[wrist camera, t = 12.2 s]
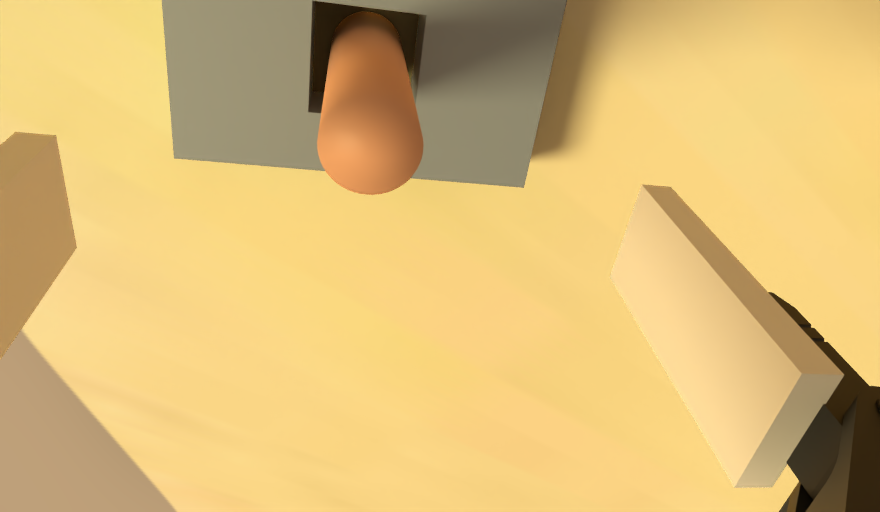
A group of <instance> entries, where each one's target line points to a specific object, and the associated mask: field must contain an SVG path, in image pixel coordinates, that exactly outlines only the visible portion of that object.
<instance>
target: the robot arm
mask: <svg viewBox="0 0 880 512" xmlns="http://www.w3.org/2000/svg"><path fill="white" fill-rule="evenodd" d="M76 248H77V247H76V241H75V236H74V230H73V225H72V220H71V214H70V209H69V203H68V198H67V193H66V187H65V182H64V176H63V171H62V166H61V160H60V155H59V149H58V144H57V139H56V135H44V134H33V133H21V132H15V133H14V134H13V135H11V136H10V137H9V138H8V139H7V140H6V141H5V142H3V143H2V144H1V145H0V360H1V358H2V357H3V355H4V354H5V352H6V351H7V350H8V348H9V346H10V345H11V343H12V342H13V341H14V339H15V338H16V336H17V335H18V333H19V332H20V330H21V329H22V327H23V326H24V325H25V323H26V322H27V320H28V319H29V317H30V316H31V314H32V313H33V311H34V310H35V308H36V307H37V305H38V304H39V302H40V301H41V299H42V298H43V297H44V295H45V294H46V292H47V291H48V289H49V288H50V286H51V285H52V283H53V282H54V280H55V279H56V277H57V276H58V274H59V273H60V271H61V270H62V269H63V267H64V266H65V264H66V263H67V261H68V260H69V258H70V257H71V255H72V254H73V252H74V251H75V249H76ZM610 279H611V280H612V282H613V284H614V286H615V287H616V289H617V291H618V292H619V294H620V296H621V297H622V299H623V301H624V302H625V304H626V306H627V307H628V309H629V311H630V313H631V314H632V316H633V318H634V319H635V321H636V323H637V324H638V326H639V328H640V329H641V331H642V333H643V334H644V336H645V338H646V340H647V341H648V343H649V345H650V346H651V348H652V350H653V351H654V353H655V355H656V356H657V358H658V360H659V361H660V363H661V365H662V367H663V368H664V370H665V372H666V373H667V375H668V377H669V378H670V380H671V382H672V383H673V385H674V387H675V388H676V390H677V392H678V394H679V395H680V397H681V399H682V400H683V402H684V404H685V405H686V407H687V409H688V410H689V412H690V414H691V415H692V417H693V419H694V421H695V422H696V424H697V426H698V427H699V429H700V431H701V432H702V434H703V436H704V437H705V439H706V441H707V442H708V444H709V446H710V448H711V449H712V451H713V453H714V454H715V456H716V458H717V459H718V461H719V463H720V464H721V466H722V468H723V469H724V471H725V473H726V475H727V476H728V478H729V480H730V481H731V483H732V485H733V486H734V488H747V487H773V485H774V484H775V482H776V481H777V479H778V478H779V476H780V475H781V473H782V471H783V470H784V468H785V467H786V465H787V464H788V465H789V467H790V468H791V470H792V471H793V473H794V474H795V475H796V477H797V478H798V480H799V483H798V484H797V486H796V487H795V489H794V490H793V492H792V493H791V495H790V496H789V498H788V499H787V501H786V502H785V503H784V505H783V506H782V508H781V509H780V511H779V512H880V387H876V386H869V385H868V384H867V383H866V382H865V381H864V380H863V379H862V378H861V377H860V376H859V375H858V374H857V372H856V371H855V370H854V369H853V368H852V367H851V366H850V365H849V364H848V363H847V362H846V361H845V360H844V359H843V358H842V357H841V356H840V355H839V354H838V353H837V351H836V350H835V349H834V348H833V347H832V346H831V345H830V344H829V343H828V342H824V338H823V337H822V336H821V335H820V334H819V333H818V331H817V330H816V329H815V328H811V324H810V323H809V322H808V321H807V320H806V319H805V318H804V317H803V316H802V315H801V314H800V313H799V312H798V310H797V309H796V308H794V307H793V306H791V305H790V304H789V303H787V302H786V301H784V300H783V299H781V298H780V297H778V296H777V295H775V294H774V293H772V292H767V291H766V290H765V289H764V287H763V286H762V285H761V284H760V283H759V282H758V281H757V280H756V279H755V278H754V277H753V276H752V274H751V273H750V272H749V271H748V270H747V269H746V268H745V267H744V266H743V265H742V264H741V263H740V262H739V260H738V259H737V258H736V257H735V256H734V255H733V254H732V253H731V252H730V251H729V250H728V249H727V247H726V246H725V245H724V244H723V243H722V242H721V241H720V240H719V239H718V238H717V237H716V236H715V234H714V233H713V232H712V231H711V230H710V229H709V228H708V227H707V226H706V225H705V224H704V223H703V221H702V220H701V219H700V218H699V217H698V216H697V215H696V214H695V213H694V212H693V211H692V210H691V209H690V207H689V206H688V205H687V204H686V203H685V202H684V201H683V200H682V199H681V198H680V197H679V196H678V194H677V193H676V192H675V191H674V190H673V189H672V188H671V187H665V186H653V185H641V188H640V191H639V194H638V197H637V200H636V202H635V205H634V208H633V211H632V214H631V217H630V220H629V223H628V226H627V229H626V232H625V234H624V237H623V240H622V243H621V246H620V249H619V252H618V255H617V258H616V261H615V264H614V266H613V269H612V272H611V275H610Z"/></svg>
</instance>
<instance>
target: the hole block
mask: <svg viewBox="0 0 880 512" xmlns="http://www.w3.org/2000/svg"><path fill="white" fill-rule="evenodd" d="M316 1H320V2H328V3H336V4H343V5H351V6H359V7H367V8H375V9H383V10H391V11H398V12H406V13H414V14H419V19H418V27H417V36H416V44H415V52H414V61H413V69H412V78H411V88H412V93H413V97H414V101H415V106H416V110H417V114H418V119H419V123H420V127H421V132H422V136H423V144H424V146H423V155H422V159H421V162H420V164H419V166H418V168H417V170H416V172H415V173H414V174H413V176H412V177H411V178H415V179H427V180H439V181H451V182H463V183H475V184H487V185H499V186H511V187H522V188H524V185H525V180H526V176H527V171H528V167H529V163H530V158H531V154H532V150H533V145H534V141H535V137H536V132H537V128H538V124H539V119H540V115H541V111H542V106H543V102H544V98H545V93H546V89H547V85H548V80H549V76H550V71H551V67H552V63H553V58H554V54H555V50H556V45H557V41H558V37H559V32H560V28H561V24H562V19H563V15H564V11H565V6H566V2H567V0H162V9H163V21H164V34H165V47H166V60H167V73H168V85H169V98H170V111H171V124H172V137H173V150H174V158H176V159H188V160H200V161H212V162H224V163H236V164H248V165H260V166H272V167H284V168H296V169H308V170H320V171H325V169H324V168H323V166H322V164H321V162H320V159H319V156H318V150H317V139H318V131H319V124H320V118H321V111H322V104H323V97H324V92H317V91H312V86H313V60H314V35H315V9H316Z"/></svg>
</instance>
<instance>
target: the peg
mask: <svg viewBox="0 0 880 512" xmlns="http://www.w3.org/2000/svg"><path fill="white" fill-rule="evenodd" d="M423 146H424V144H423V136H422V132H421V127H420V123H419V119H418V114H417V110H416V106H415V101H414V97H413V93H412V88H411V84H410V80H409V75H408V71H407V67H406V62H405V58H404V54H403V49H402V45H401V41H400V37H399V34H398V32H397V30H396V28H395V27H394V25H393V24H392V23H391V22H390V21H389V20H388V19H386V18H385V17H383V16H381V15H379V14H377V13H374V12H366V11H364V12H357V13H354V14H351V15H349V16H348V17H346V18H345V19H343V20H342V21H341V22H340V23H339V25H338V26H337V28H336V30H335V32H334V34H333V38H332V43H331V50H330V57H329V64H328V70H327V77H326V84H325V91H324V97H323V104H322V111H321V118H320V124H319V131H318V139H317V150H318V156H319V159H320V162H321V164H322V166H323V168H324V169H325V171H326V172H327V174H328V175H329V176H330V177H331V178H332V179H333V180H334V181H335V182H336V183H338V184H339V185H340V186H342V187H344V188H346V189H348V190H350V191H353V192H356V193H360V194H371V195H374V194H382V193H386V192H389V191H392V190H394V189H396V188H398V187H400V186H401V185H403V184H404V183H406V182H407V181H408V180H409V179H410V178H411V177H412V176H413V174H414V173H415V172H416V170H417V168H418V166H419V164H420V162H421V159H422V155H423Z"/></svg>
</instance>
